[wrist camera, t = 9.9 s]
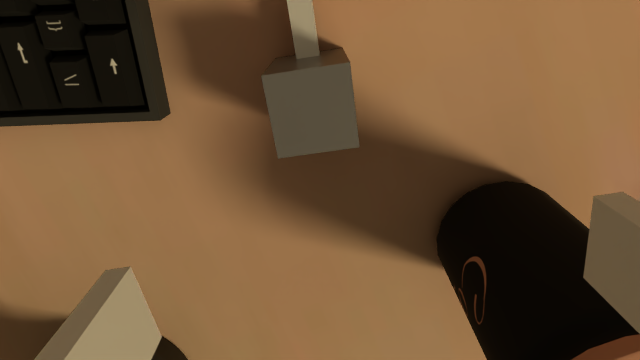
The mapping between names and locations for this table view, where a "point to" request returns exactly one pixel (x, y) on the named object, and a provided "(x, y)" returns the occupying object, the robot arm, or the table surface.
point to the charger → (310, 93)
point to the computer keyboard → (79, 63)
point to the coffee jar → (528, 278)
